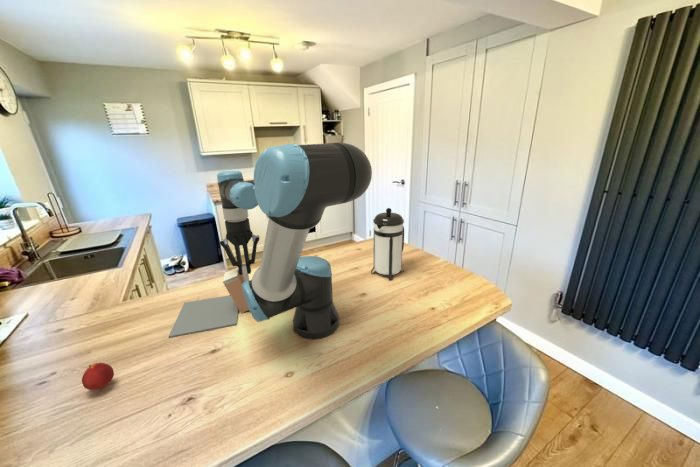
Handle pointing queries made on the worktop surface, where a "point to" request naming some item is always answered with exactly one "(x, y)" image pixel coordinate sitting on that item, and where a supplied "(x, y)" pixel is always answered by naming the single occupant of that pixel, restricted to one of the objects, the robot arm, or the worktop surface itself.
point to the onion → (97, 376)
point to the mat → (205, 316)
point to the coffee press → (388, 243)
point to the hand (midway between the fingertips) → (246, 281)
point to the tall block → (236, 288)
